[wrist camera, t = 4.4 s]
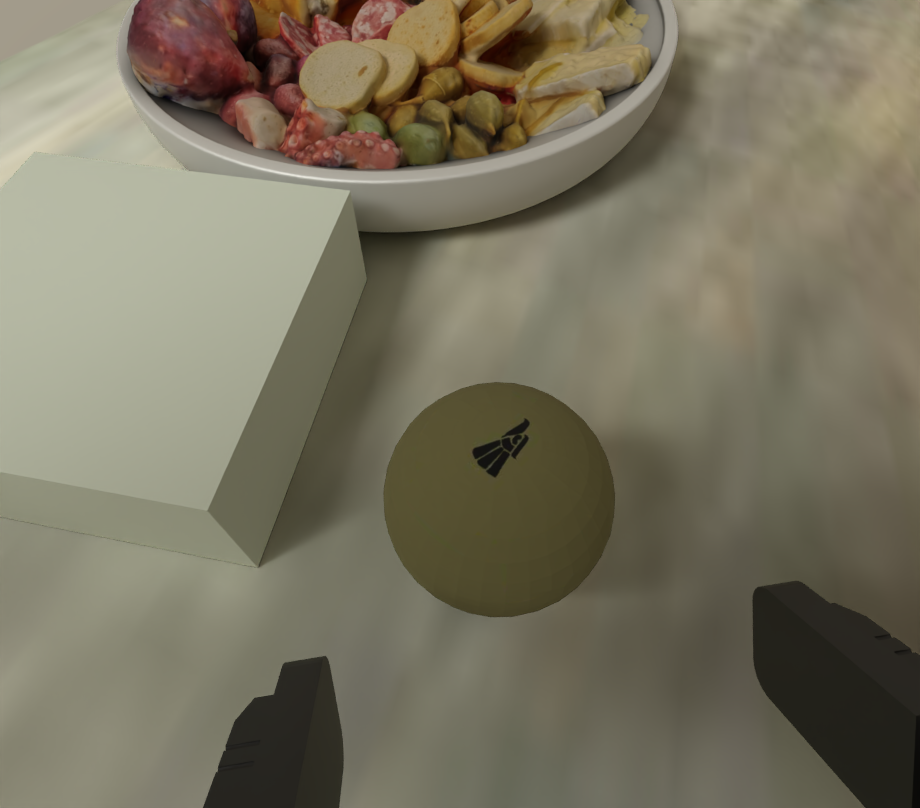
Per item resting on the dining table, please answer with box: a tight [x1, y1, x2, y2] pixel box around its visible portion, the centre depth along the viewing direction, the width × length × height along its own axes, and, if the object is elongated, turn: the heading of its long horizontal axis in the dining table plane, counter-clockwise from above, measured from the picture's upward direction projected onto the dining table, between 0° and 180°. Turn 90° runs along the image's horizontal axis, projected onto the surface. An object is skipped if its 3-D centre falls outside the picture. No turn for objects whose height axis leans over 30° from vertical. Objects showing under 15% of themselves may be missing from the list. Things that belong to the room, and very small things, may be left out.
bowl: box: [116, 0, 678, 232], centre depth 35 cm, size 30×30×8 cm
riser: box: [0, 152, 367, 568], centre depth 24 cm, size 14×14×5 cm
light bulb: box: [384, 382, 615, 617], centre depth 17 cm, size 6×6×10 cm
